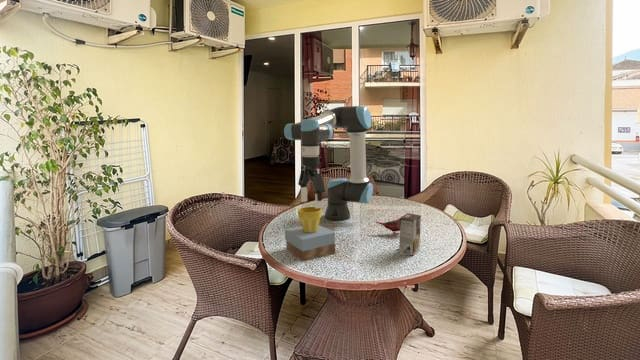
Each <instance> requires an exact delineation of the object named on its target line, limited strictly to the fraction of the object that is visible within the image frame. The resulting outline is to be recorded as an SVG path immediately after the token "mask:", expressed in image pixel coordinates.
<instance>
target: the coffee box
mask: <svg viewBox="0 0 640 360" xmlns="http://www.w3.org/2000/svg"><path fill="white" fill-rule="evenodd" d="M421 217H422V216H421V215H420V214H415V213H409V212H407V213H405V214H404V215H403V217H402V216H400V217H399V218H400V231H399V233H400V234H399V244H398V245H399V247H398V249H399V250H398V253H399V254H400V253H402V254H401V255H405V254H407V255H406V256H409V255H413V256H415V255H416V254H417V253H418V252H419V251H418V250H419V249H420V248H421V243H420V242H421V222H422V221H421V220H422V219H421ZM417 251H418V252H417ZM416 252H417V253H416Z"/></svg>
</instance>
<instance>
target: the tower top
mask: <svg viewBox="0 0 640 360" xmlns="http://www.w3.org/2000/svg"><path fill="white" fill-rule="evenodd" d="M284 234H285V235H284V239H285V240H284V241H287V242H289V243H291V244H292V245H294V246H295V247H297V248H298V249H300V250H301V251H306V250H310V249H314V248H319V247H323V246H327V245H331V244H335V245H336V243H335V242H336V238H335V237H336V236H335V235H336V233H335V232H334V231H332V230H331V229H328V228H326V227H324V226H322V225H320V224H319V226H318V231H317V232H314V233H306V232H304V231H303V229H302V225H301V226H296V227H291V228H285V229H284Z"/></svg>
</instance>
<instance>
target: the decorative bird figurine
mask: <svg viewBox="0 0 640 360" xmlns="http://www.w3.org/2000/svg"><path fill="white" fill-rule="evenodd" d="M403 216H404V215H403ZM403 216H401V217H403ZM401 217H399V218H398V219H394V220H388V221H386V222H380V221H375V223H376V224H379V225H381V226H383V227H384V228H385V229H387V230H390V231H391V234H392V235H400V218H401Z"/></svg>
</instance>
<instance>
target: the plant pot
mask: <svg viewBox="0 0 640 360" xmlns="http://www.w3.org/2000/svg"><path fill="white" fill-rule="evenodd" d="M322 214H323V211H322V208H318V209H316V208H315V206H304V207H303V206H302V207H300V208H298V209H297V216H298V218H299V221H300V225H301V226H302V229H303V231H304V232H306V233H314V232H317V231H318V226H319V225H320V220H321V218H322V216H323V215H322Z"/></svg>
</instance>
